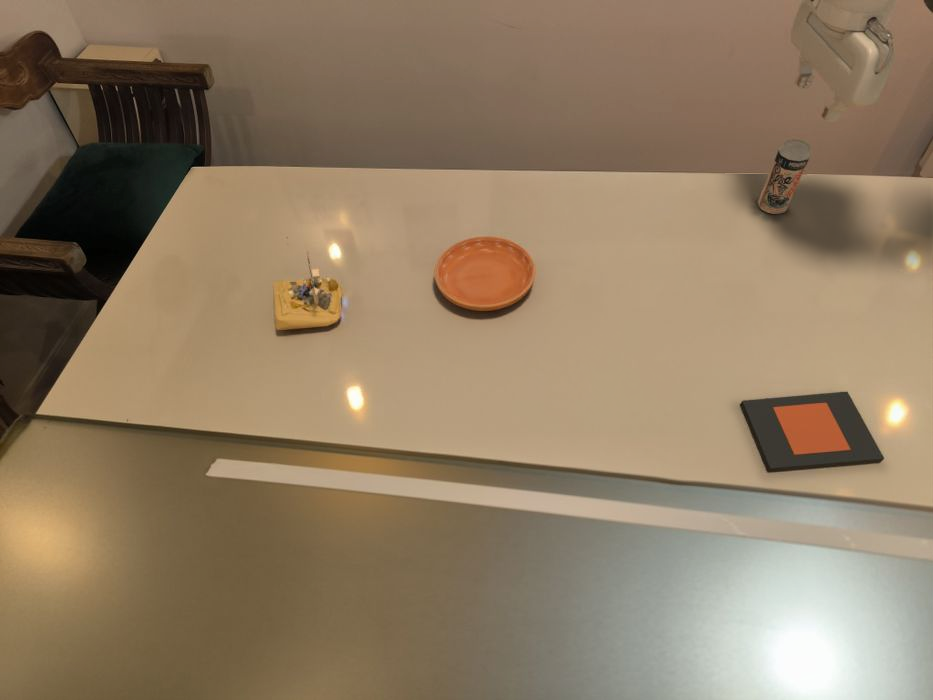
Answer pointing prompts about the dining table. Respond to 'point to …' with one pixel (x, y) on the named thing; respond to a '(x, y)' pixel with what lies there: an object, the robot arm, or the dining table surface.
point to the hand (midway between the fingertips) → (814, 102)
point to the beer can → (784, 176)
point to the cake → (307, 302)
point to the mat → (810, 431)
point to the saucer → (484, 273)
